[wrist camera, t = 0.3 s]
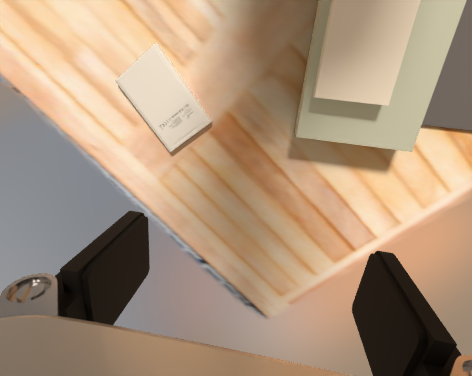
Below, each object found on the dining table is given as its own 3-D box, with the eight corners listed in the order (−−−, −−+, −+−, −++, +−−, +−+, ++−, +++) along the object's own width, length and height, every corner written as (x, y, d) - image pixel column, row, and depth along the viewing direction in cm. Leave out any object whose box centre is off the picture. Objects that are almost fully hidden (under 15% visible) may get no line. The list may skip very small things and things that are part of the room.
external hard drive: (160, 44, 36) (213, 120, 39) (120, 81, 39) (173, 150, 41) (155, 42, 35) (211, 122, 37) (114, 81, 37) (169, 153, 40)
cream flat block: (336, -27, 27) (341, -35, 25) (419, -22, 26) (429, -30, 24) (312, 96, 31) (314, 97, 30) (381, 104, 31) (388, 105, 29)
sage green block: (331, -70, 29) (339, -92, 25) (467, -63, 27) (497, -85, 24) (294, 131, 37) (296, 137, 33) (397, 144, 36) (411, 151, 32)
